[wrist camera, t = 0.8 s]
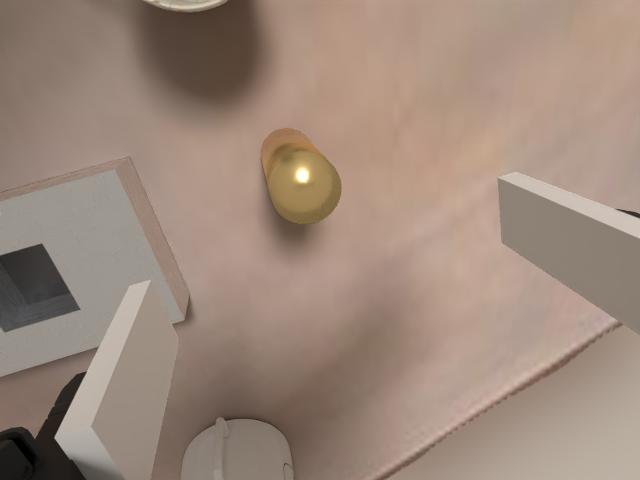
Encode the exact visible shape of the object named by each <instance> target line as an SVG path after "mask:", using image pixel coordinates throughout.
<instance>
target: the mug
mask: <svg viewBox="0 0 640 480" xmlns="http://www.w3.org/2000/svg"><path fill="white" fill-rule="evenodd" d="M142 1H144V2H146V3H149V4H151V5H153V6H156V7H159V8H162V9H166V10H171V11H176V12H199V11H204V10H209V9H212V8H215V7H217V6H220V5H222V4H224V3H226V2H227V1H229V0H142Z"/></svg>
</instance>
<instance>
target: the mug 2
mask: <svg viewBox="0 0 640 480" xmlns="http://www.w3.org/2000/svg"><path fill="white" fill-rule="evenodd" d="M181 480H294V474H293V466H292V459H291V453H290V448H289V444H288V442H287V440H286V438H285V436H284V435H283V434H282V433H281V432H280V431H279V430H278V429H276V428H275V427H274V426H272V425H270V424H268V423H265V422H262V421H258V420H253V419H233V420H228V421H225V420H224V418H222V417H219V418H218V419H216V423H215V425H213V426H211V427H209V428H207V429H206V430H204V431H203V432H201V433H200V434H199V435H197V436H196V437H195V438H194V439H193V440H192V441H191V443H190V444H189V446H188V447H187V449H186V451H185V454H184V458H183V463H182V469H181Z"/></svg>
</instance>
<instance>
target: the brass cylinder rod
mask: <svg viewBox="0 0 640 480" xmlns="http://www.w3.org/2000/svg"><path fill="white" fill-rule="evenodd" d="M261 161H262V165H263V169H264V173H265V177H266V181H267V185H268V189H269V193H270V197H271V201H272V203H273V206H274V207H275V209H276V210H277V212H278V213H279V214H280V215H281V216H282V217H284V218H285V219H287V220H288V221H291V222H293V223H297V224H312V223H315V222H318V221H320V220H322V219H324V218H326V217H327V216H328V215H329V214H330V213H331V212H332V211H333V210H334V209H335V207H336V206H337V204H338V202H339V199H340V195H341V180H340V177H339V175H338V172H337V171H336V169H335V168H334V166H333V165H332V164H331V163H330V162H329V161H328V160H327V159H326V158H325V157H324V156H323V155H322V154H321V152H320V151H319V150H318V149H317V148H316V147H315V146H314V145H313V144H312V143H311V142H310V141H309V140H308V139H307V137H306V136H305V135H303V134H302V133H301V132H299V131H297V130H294V129H289V128H285V129H279V130H276V131H275V132H273V133H271V134H270V135H269V136H268V137H267V138H266V139H265V141H264V143H263V145H262V148H261Z"/></svg>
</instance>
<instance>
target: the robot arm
mask: <svg viewBox="0 0 640 480" xmlns="http://www.w3.org/2000/svg"><path fill="white" fill-rule="evenodd" d="M498 190H499V206H500V222H501V237H502V243H503V244H505V245H506V246H508V247H509V248H511V249H512V250H514V251H515V252H517V253H518V254H520V255H521V256H523V257H524V258H526V259H527V260H529V261H530V262H532V263H533V264H535V265H536V266H538V267H539V268H540V269H542V270H543V271H545V272H546V273H548V274H549V275H551V276H552V277H554V278H555V279H557V280H558V281H560V282H561V283H563V284H564V285H566V286H567V287H569V288H570V289H572V290H573V291H575V292H576V293H578V294H579V295H581V296H582V297H584V298H585V299H587V300H588V301H590V302H591V303H593V304H594V305H596V306H597V307H599V308H600V309H602V310H603V311H605V312H606V313H608V314H609V315H611V316H612V317H614V318H615V319H617V320H618V321H620V322H621V323H622V324H624V325H625V326H627V327H628V328H630V329H631V330H633V331H634V332H636V333H637V334H639V335H640V214H638V213H636V212H631V211H625V210H619V209H613V208H610V207H608V206H605V205H602V204H600V203H597V202H595V201H592V200H589V199H587V198H584V197H581V196H579V195H576V194H574V193H571V192H568V191H566V190H563V189H560V188H558V187H555V186H553V185H550V184H547V183H545V182H542V181H539V180H537V179H534V178H532V177H529V176H526V175H524V174H521V173H518V172H514V173H511V174H508V175H504V176H501V177H498ZM179 343H180V340H179V338H178V336H177V334H176V332H175V330H174V327H173V325H172V323H171V321H170V319H169V317H168V315H167V313H166V310H165V308H164V306H163V304H162V302H161V300H160V298H159V295H158V293H157V291H156V289H155V287H154V285H153V283H152V281H151V280H147V281H144V282H141V283H137V284H134V285H131V286H129V288H128V290H127V292H126V294H125V296H124V298H123V300H122V302H121V304H120V306H119V308H118V310H117V312H116V314H115V316H114V318H113V320H112V322H111V324H110V326H109V328H108V330H107V332H106V334H105V336H104V338H103V340H102V342H101V344H100V346H99V348H98V350H97V352H96V354H95V356H94V359H93V361H92V363H91V365H90V367H89V369H88V371H86V372H83V373H80V374H76V376H75V377H74V378H73V379H72V380H71V381H70V382H69V383H68V384H67V385H66V386H65V387H64V388H63V389H62V391H61V393H60V395H59V396H58V398H57V400H56V402H55V406H54V407H53V408H52V409H51V411H50V413H49V415H48V419H46V420H45V422H44V424H43V426H42V428H41V430H40V431H39V433H38V435H37V437H36V439H34V438H33V436H32V435H31V433H30V432H29V431H28V430H27V429H25V428H23V427H16V428H10V429H8V430H5V431H2V432H0V480H150V479H151V475H152V470H153V465H154V460H155V456H156V451H157V446H158V442H159V437H160V432H161V428H162V423H163V418H164V413H165V409H166V404H167V399H168V395H169V390H170V385H171V380H172V376H173V371H174V366H175V362H176V357H177V352H178V347H179Z"/></svg>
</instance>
